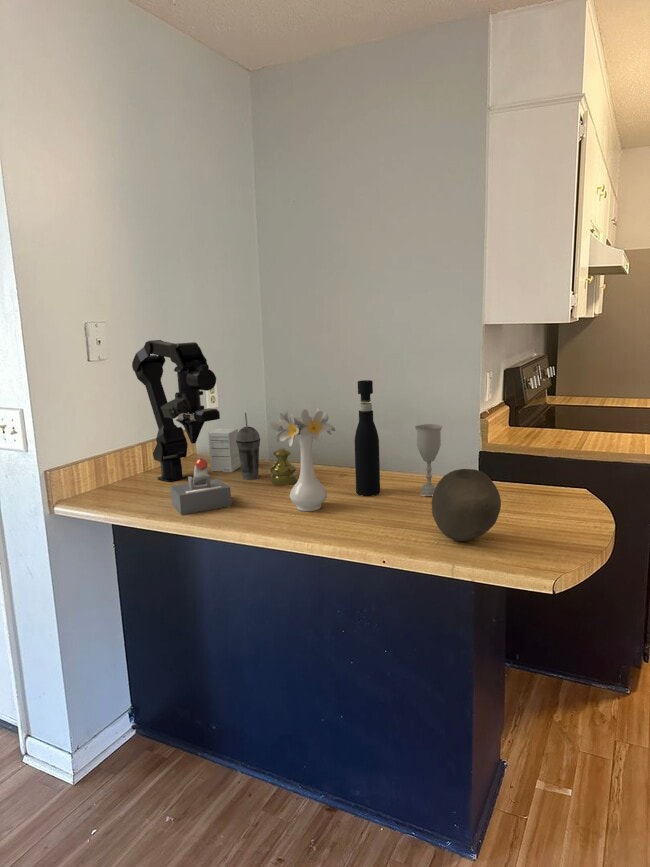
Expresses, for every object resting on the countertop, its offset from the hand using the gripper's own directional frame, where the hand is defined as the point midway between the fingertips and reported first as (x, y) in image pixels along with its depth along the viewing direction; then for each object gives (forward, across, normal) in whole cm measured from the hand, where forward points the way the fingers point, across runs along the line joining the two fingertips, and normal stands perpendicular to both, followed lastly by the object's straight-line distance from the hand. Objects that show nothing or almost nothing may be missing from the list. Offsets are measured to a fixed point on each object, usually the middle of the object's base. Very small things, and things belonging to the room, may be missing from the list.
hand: (193, 443), depth 177 cm
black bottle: (+13, +44, +23) cm, 51 cm away
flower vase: (+13, +39, +4) cm, 41 cm away
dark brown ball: (+13, +82, +7) cm, 83 cm away
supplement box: (+13, -10, +19) cm, 25 cm away
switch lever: (+7, +15, -10) cm, 19 cm away
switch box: (+13, +15, -10) cm, 22 cm away
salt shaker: (+13, +17, +18) cm, 28 cm away
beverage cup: (+13, +5, +16) cm, 21 cm away
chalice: (+13, +58, +31) cm, 67 cm away
